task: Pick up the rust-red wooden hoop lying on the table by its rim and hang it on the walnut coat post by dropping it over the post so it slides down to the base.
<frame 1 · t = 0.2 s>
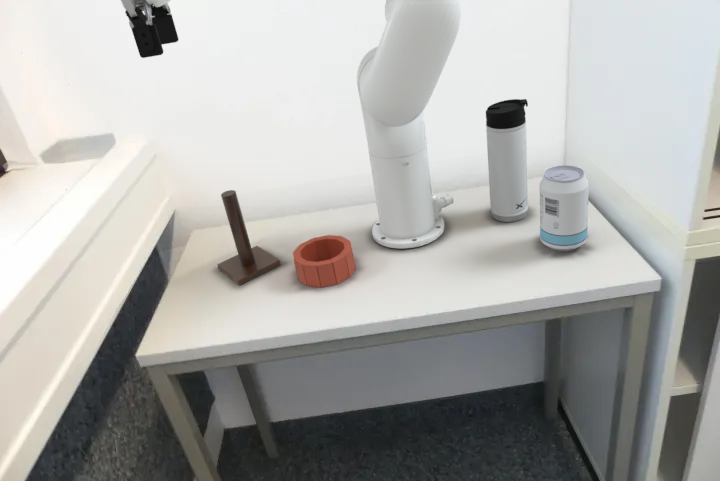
hand: (160, 49, 88), 37 cm above the table, tool pointing down, fingers open, 9 cm apart
beverage can: (563, 244, 94), on the table
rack: (249, 267, 102), on the table
hoop: (326, 270, 97), on the table
travel mug: (510, 215, 105), on the table
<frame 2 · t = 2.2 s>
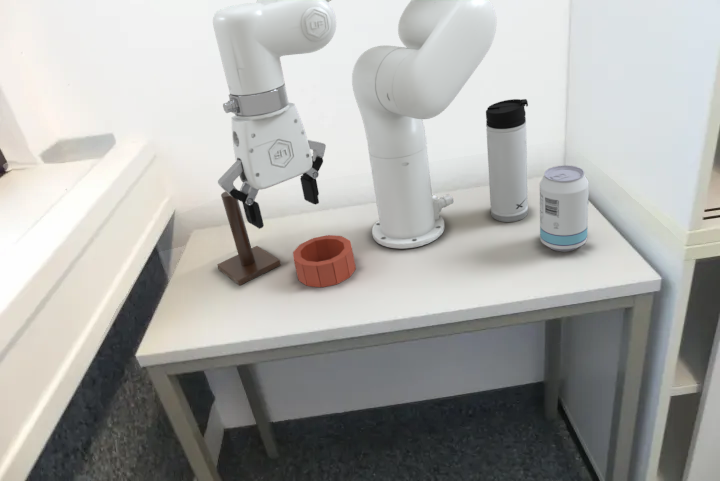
hand: (285, 213, 90), 12 cm above the table, tool pointing down, fingers open, 9 cm apart
nothing on the table moved.
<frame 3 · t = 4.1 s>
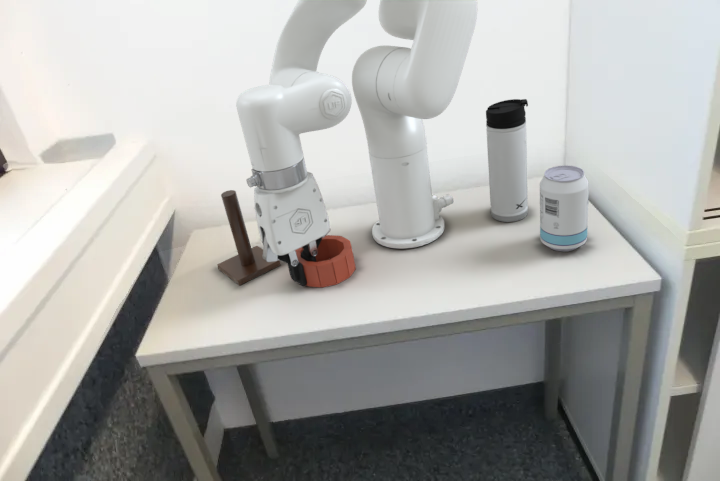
hand: (306, 278, 95), 0 cm above the table, tool pointing down, fingers closed on hoop
hoop: (326, 270, 97), on the table, touching gripper
everything else where it was.
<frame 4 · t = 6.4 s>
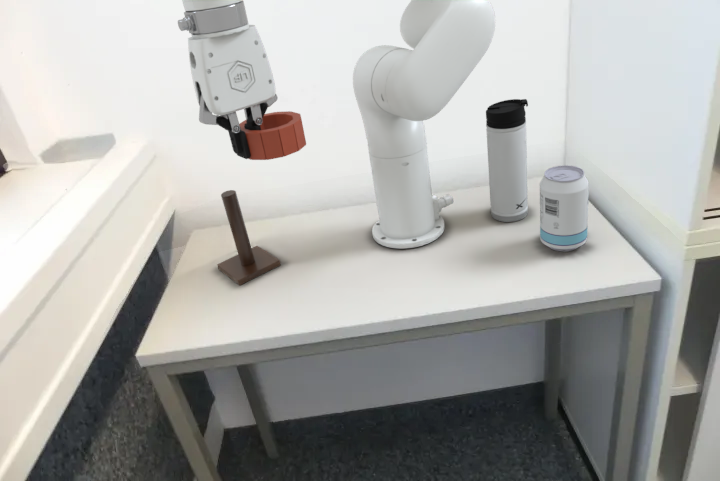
hand: (250, 153, 86), 22 cm above the table, tool pointing down, fingers closed on hoop
hoop: (274, 147, 88), point 22 cm above the table, touching gripper
everything else where it was.
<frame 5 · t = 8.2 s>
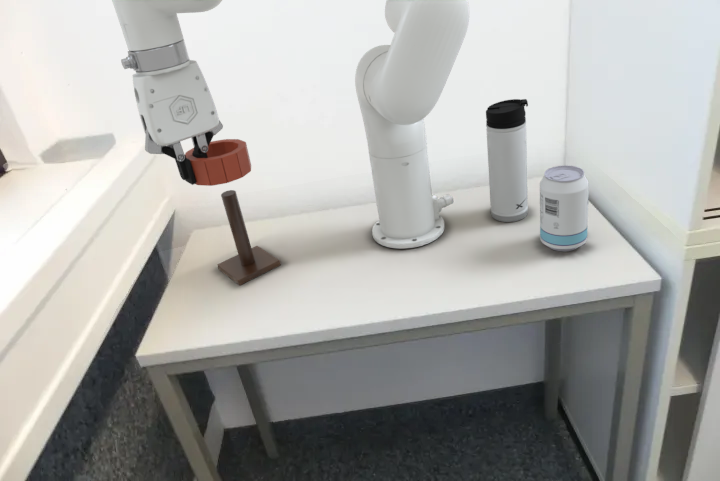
hand: (197, 178, 92), 18 cm above the table, tool pointing down, fingers closed on hoop
hoop: (221, 173, 94), point 17 cm above the table, touching gripper
everything else where it was.
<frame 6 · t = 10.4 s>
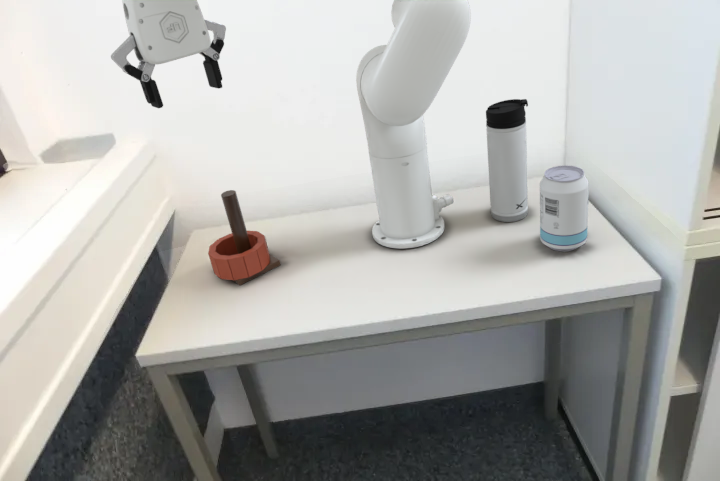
hand: (187, 96, 89), 30 cm above the table, tool pointing down, fingers open, 9 cm apart
hoop: (242, 264, 101), point 1 cm above the table, touching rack
everything else where it was.
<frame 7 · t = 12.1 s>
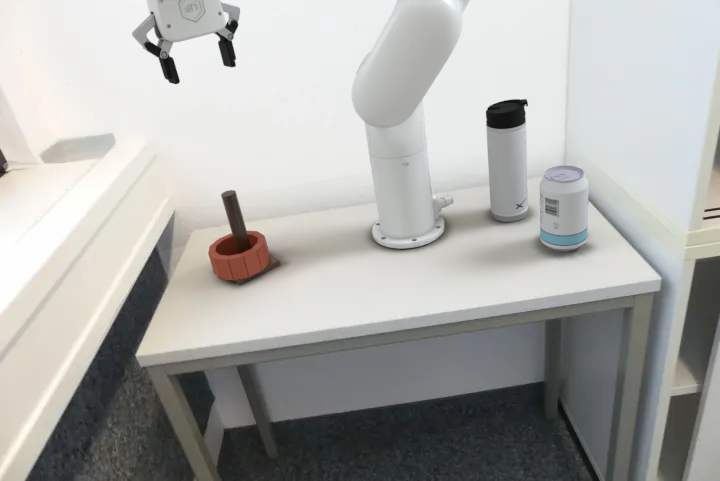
hand: (203, 74, 95), 31 cm above the table, tool pointing down, fingers open, 9 cm apart
nothing on the table moved.
at the end: hoop 1.0 cm from the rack (horizontally); hoop point 1.0 cm above the table; the gripper is holding nothing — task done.
